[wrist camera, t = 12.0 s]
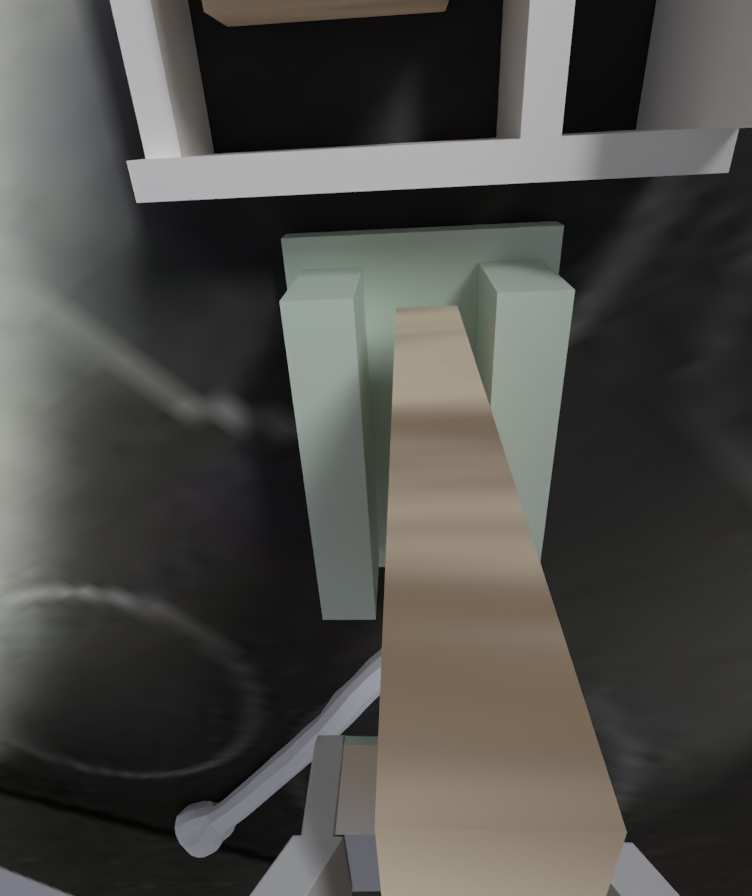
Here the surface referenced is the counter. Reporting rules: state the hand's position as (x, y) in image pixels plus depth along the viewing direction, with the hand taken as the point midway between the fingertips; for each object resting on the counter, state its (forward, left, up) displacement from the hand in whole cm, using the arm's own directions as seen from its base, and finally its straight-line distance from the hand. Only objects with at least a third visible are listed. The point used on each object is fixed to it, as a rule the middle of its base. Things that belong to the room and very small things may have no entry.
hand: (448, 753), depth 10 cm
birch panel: (0, 0, -10) cm, 10 cm away
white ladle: (+20, -8, -14) cm, 26 cm away
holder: (0, 0, -14) cm, 14 cm away
